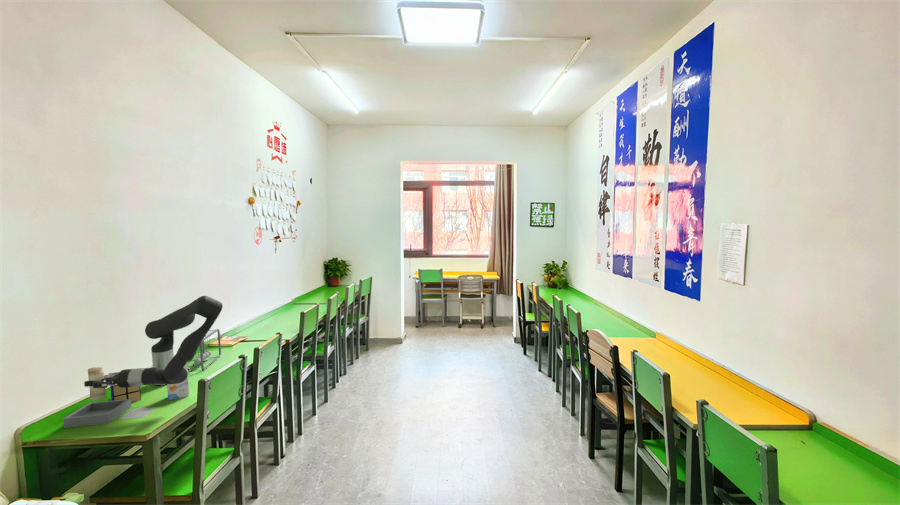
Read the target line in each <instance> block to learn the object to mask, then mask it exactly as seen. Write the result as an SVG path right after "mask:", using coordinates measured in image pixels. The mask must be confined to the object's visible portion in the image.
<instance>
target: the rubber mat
mask: <svg viewBox="0 0 900 505" xmlns="http://www.w3.org/2000/svg"><path fill="white" fill-rule="evenodd" d="M157 408H158V407H157V406H153V407H142V408H133V409H131V410H129V411H128V412H126V413H125V414H123V415H122V416H121V417H120V418H118V419H117V420H125V419H126V420H127V419H139V418H145V417H147V416H148V415H149V414H150V413H152V412H153V411H154V410H156V409H157Z"/></svg>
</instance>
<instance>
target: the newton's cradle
mask: <svg viewBox="0 0 900 505" xmlns="http://www.w3.org/2000/svg"><path fill="white" fill-rule="evenodd" d="M220 331H221V330H220V329H219V328H217V329H210V330H209V331H208V333H207V334H206V335H205V337H204V338H203V340H202V342H201V344H200V345H199V347H198V351H197V353H198V355H197V356H195V357H196V358H195V359H194V360H193V363H192V364H191V365H190V366H188V367H187V370H188V369H189V368H190V369H189V370H188V372H191V371H190V370H191V369H192V368H193V367H194V366H197V365H200V368H201V369H202V370H201V371H203V370H204V371H206V370H207V369H208V368H209V367H210V366H211V365H212V364H214V363H215V360H216V359H217V358H218V357H219V356H220V355H222V347H221V346H222V345H221V333H220ZM215 333H217V340H218V342H217V344H218V355H216V356H217V357H214V359H212V361H210V362H209V363H208V364H207V365H206V366H204V361H206V359H208V358H209V357H211V355H212V351H211V350H209V346H208V345H207V344H206V342H209V343H210V342H211V341H210V340H211V338H210V337H211V336H212V335H214V334H215ZM206 340H207V341H206ZM208 340H209V341H208ZM182 342H183V340H182V341H181V343H182ZM207 346H208V347H207ZM220 357H221V356H220ZM220 357H219V358H220ZM219 358H218V359H219ZM218 359H217V360H218ZM217 360H216V361H217ZM211 363H212V364H211ZM194 364H196V365H194ZM210 364H211V365H210ZM193 365H194V366H193ZM209 365H210V366H209ZM192 366H193V367H192ZM208 366H209V367H208ZM191 367H192V368H191ZM207 367H208V368H207Z"/></svg>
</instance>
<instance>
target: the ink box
mask: <svg viewBox="0 0 900 505" xmlns="http://www.w3.org/2000/svg"><path fill="white" fill-rule="evenodd" d="M183 368H185V369H186V370H187V368H188V364H187V363H186V364H185V366H184V367H183ZM187 372H188V373H189V371H188V370H187ZM189 384H190V383H189V375H188V376H187V378H186V380H185V381H183V382H181V383H178V384H167V385H166V386H167V387H166V389H167V400H168V401H172V400H177V399H181V398H185V397H189V396H190V385H189Z"/></svg>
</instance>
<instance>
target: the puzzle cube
mask: <svg viewBox="0 0 900 505" xmlns="http://www.w3.org/2000/svg"><path fill="white" fill-rule="evenodd" d="M109 386H110V385H109ZM109 388H110V398H111V399H110V401H113V400H125V399H131V403H135V402H139V401H142V393H141V392H142V391H141V386H136V387H125V388H120V387H119V386H118V385H117V384H116V385H113V386H110V387H109Z"/></svg>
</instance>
